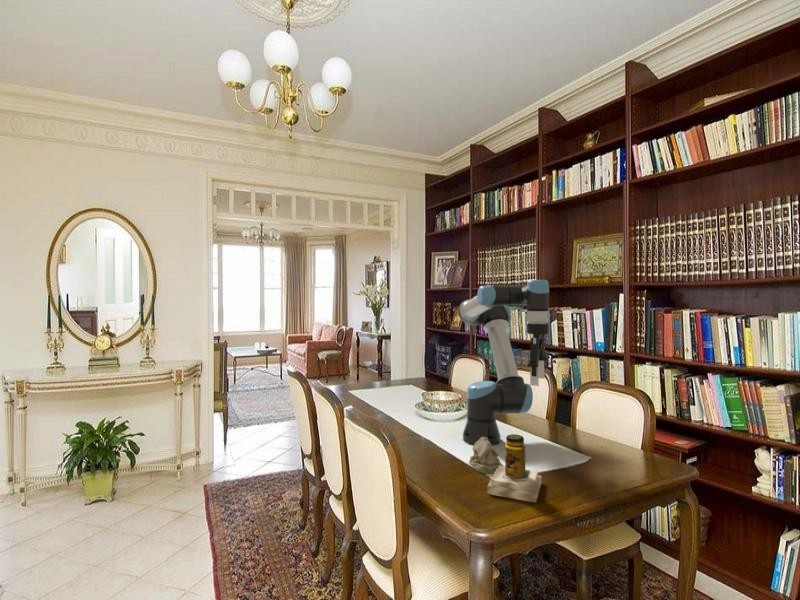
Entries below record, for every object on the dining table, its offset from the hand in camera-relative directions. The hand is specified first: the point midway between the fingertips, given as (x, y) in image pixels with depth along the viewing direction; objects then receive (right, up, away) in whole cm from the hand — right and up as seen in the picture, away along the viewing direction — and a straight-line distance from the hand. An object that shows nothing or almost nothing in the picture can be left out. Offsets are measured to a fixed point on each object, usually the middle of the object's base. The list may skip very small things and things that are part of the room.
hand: (537, 381), depth 157 cm
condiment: (-14, -25, -22) cm, 36 cm away
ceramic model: (-19, -29, -5) cm, 35 cm away
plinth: (-14, -29, -23) cm, 39 cm away
